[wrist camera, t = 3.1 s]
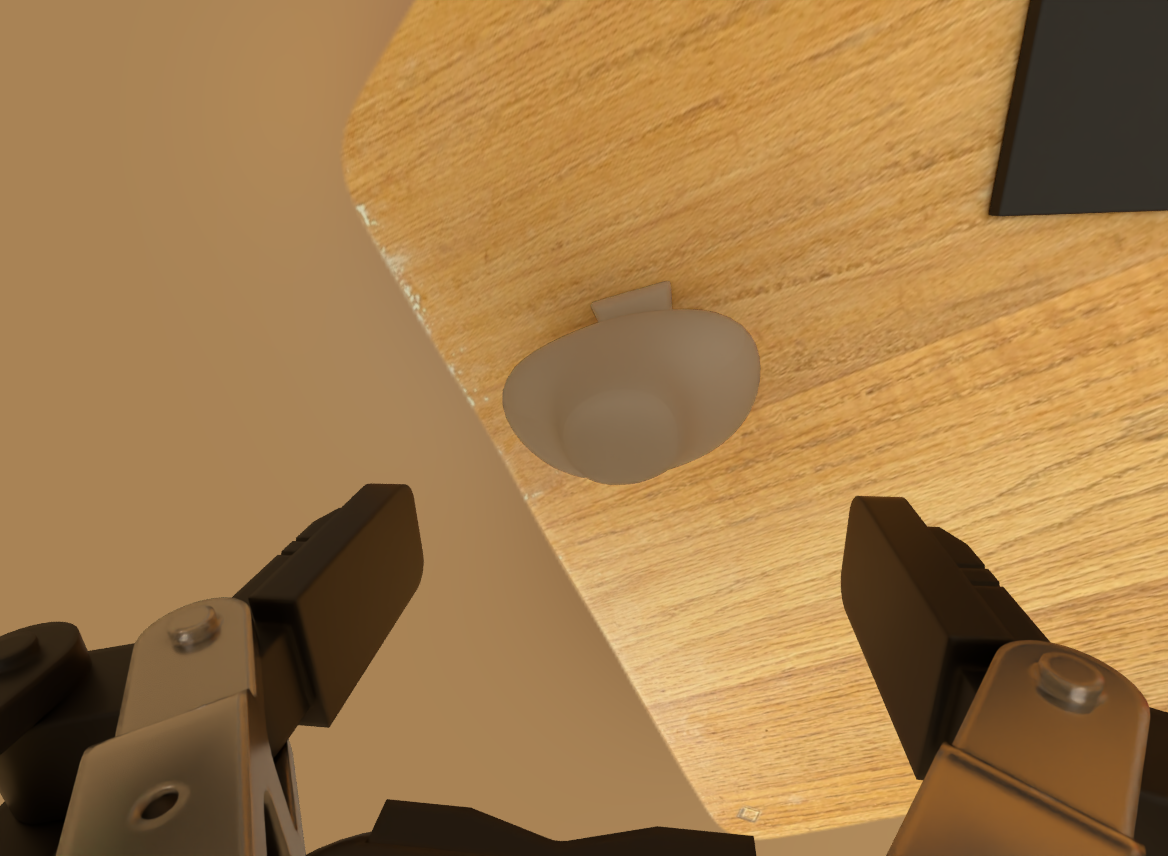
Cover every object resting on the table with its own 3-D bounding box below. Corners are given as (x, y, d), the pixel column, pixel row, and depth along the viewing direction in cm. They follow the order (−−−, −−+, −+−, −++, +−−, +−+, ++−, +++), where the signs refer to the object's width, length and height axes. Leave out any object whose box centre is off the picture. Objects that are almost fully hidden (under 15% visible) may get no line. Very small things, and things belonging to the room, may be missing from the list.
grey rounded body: (576, 419, 27) (513, 582, 16) (539, 304, 25) (439, 396, 14) (745, 377, 25) (809, 528, 14) (718, 251, 23) (767, 308, 12)
